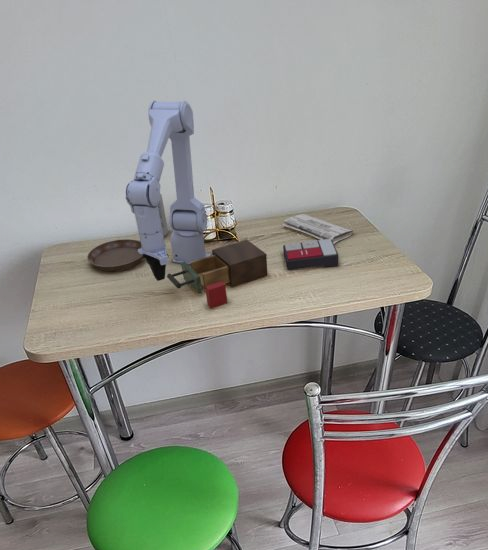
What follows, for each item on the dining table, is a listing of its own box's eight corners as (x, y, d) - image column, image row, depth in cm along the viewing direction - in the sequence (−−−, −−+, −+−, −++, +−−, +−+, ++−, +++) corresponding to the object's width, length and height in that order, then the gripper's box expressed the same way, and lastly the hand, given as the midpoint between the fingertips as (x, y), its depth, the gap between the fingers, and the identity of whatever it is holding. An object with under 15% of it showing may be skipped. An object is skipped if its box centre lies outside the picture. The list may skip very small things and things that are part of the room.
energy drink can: (171, 232, 165) (163, 188, 156) (164, 239, 161) (156, 195, 152) (155, 231, 167) (146, 187, 157) (147, 238, 162) (138, 194, 153)
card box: (211, 308, 126) (208, 290, 122) (207, 305, 127) (204, 286, 124) (227, 303, 128) (225, 284, 124) (223, 299, 129) (221, 281, 126)
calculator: (282, 242, 147) (331, 236, 147) (283, 255, 150) (331, 249, 150) (286, 259, 138) (338, 252, 138) (287, 272, 141) (338, 266, 141)
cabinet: (232, 287, 134) (230, 265, 130) (214, 271, 142) (211, 249, 138) (267, 275, 138) (266, 253, 134) (248, 260, 146) (246, 239, 142)
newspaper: (279, 227, 165) (280, 219, 164) (304, 220, 172) (305, 213, 171) (329, 246, 151) (330, 238, 150) (354, 237, 158) (355, 230, 157)
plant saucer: (130, 277, 141) (128, 268, 139) (78, 271, 145) (75, 262, 143) (158, 250, 154) (156, 241, 152) (109, 245, 158) (106, 237, 157)
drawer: (180, 300, 128) (177, 283, 125) (166, 284, 135) (163, 267, 132) (232, 283, 134) (231, 266, 131) (216, 269, 141) (214, 252, 138)
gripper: (125, 224, 122) (136, 272, 131) (144, 244, 112) (155, 295, 121) (151, 217, 125) (161, 265, 134) (173, 237, 115) (181, 286, 123)
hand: (160, 278), depth 127 cm, fingers closed
